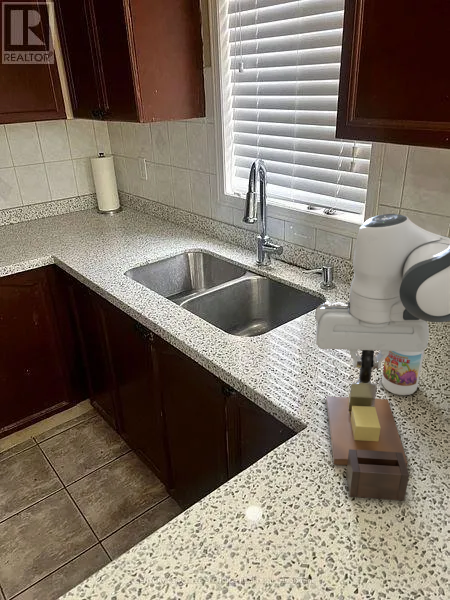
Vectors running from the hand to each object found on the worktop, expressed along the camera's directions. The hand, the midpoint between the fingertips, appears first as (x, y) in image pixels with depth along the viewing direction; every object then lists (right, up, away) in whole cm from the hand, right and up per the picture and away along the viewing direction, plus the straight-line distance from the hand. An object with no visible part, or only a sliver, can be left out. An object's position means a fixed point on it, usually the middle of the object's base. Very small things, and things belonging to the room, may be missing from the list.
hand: (366, 366), depth 87 cm
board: (0, -14, +3) cm, 14 cm away
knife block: (-2, -20, -9) cm, 22 cm away
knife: (0, -10, +5) cm, 11 cm away
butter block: (0, -13, +1) cm, 13 cm away
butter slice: (+1, -10, +6) cm, 12 cm away
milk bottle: (+12, -7, +16) cm, 21 cm away
